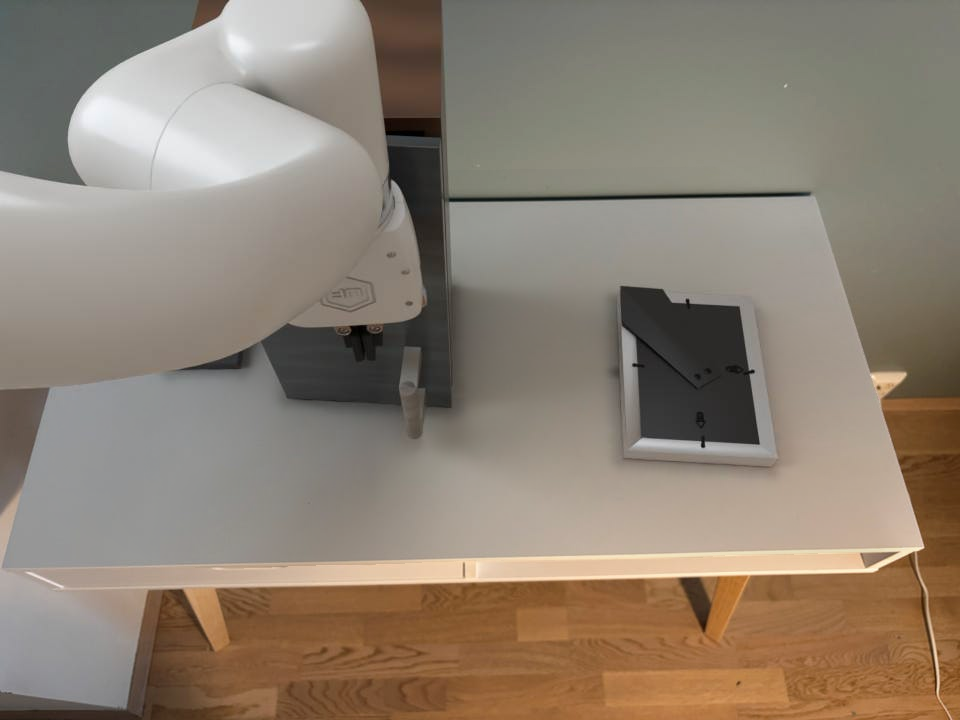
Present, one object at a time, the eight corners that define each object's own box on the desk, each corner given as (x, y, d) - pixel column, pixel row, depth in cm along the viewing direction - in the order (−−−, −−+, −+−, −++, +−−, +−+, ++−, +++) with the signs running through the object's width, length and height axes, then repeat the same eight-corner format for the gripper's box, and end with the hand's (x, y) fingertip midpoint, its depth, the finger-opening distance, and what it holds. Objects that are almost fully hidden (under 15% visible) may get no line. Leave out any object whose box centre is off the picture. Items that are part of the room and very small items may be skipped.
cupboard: (452, 386, 83) (441, 117, 49) (288, 388, 82) (165, 119, 49) (451, 285, 90) (441, -10, 56) (300, 287, 89) (201, -9, 56)
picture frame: (616, 299, 89) (623, 458, 78) (620, 285, 86) (628, 447, 76) (746, 306, 89) (771, 467, 78) (754, 292, 86) (780, 456, 76)
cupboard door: (448, 451, 78) (432, 209, 45) (277, 441, 79) (139, 194, 46) (452, 399, 82) (441, 137, 49) (288, 390, 82) (166, 123, 49)
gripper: (200, 244, 43) (272, 392, 59) (456, 230, 44) (458, 380, 59) (213, 152, 47) (277, 314, 62) (448, 141, 47) (453, 304, 63)
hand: (366, 346), depth 61 cm, fingers closed
